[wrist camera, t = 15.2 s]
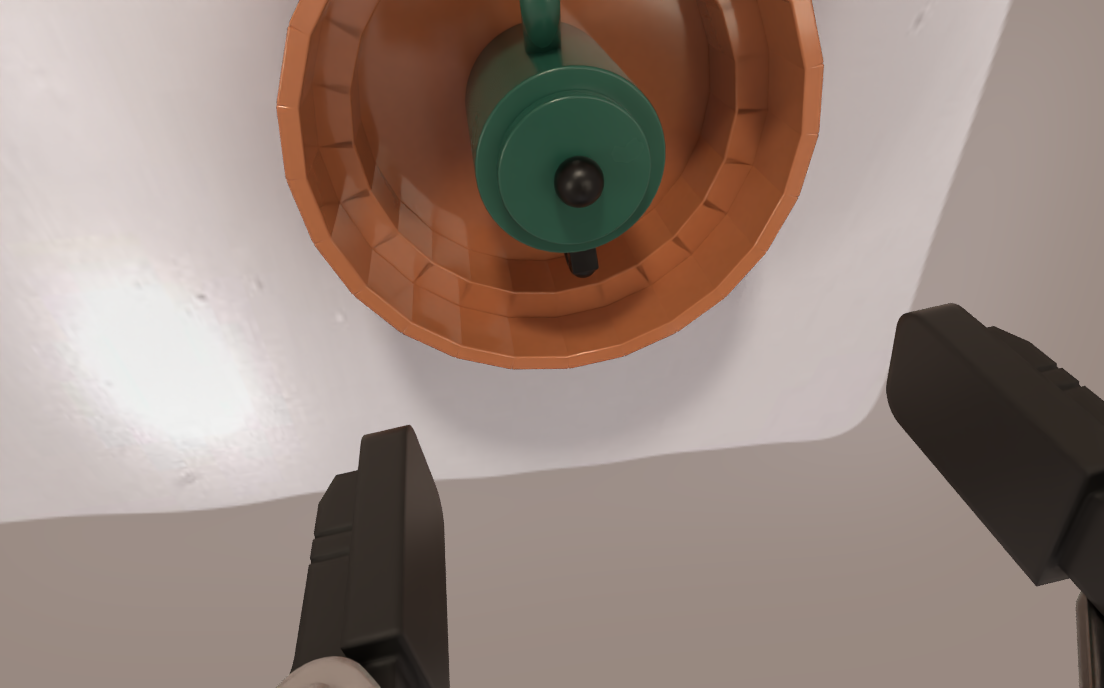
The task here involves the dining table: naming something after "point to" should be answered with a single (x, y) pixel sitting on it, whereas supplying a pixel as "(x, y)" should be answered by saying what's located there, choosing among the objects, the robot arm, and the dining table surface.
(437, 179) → the bowl
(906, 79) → the dining table surface
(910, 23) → the dining table surface
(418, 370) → the dining table surface
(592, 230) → the kettle
